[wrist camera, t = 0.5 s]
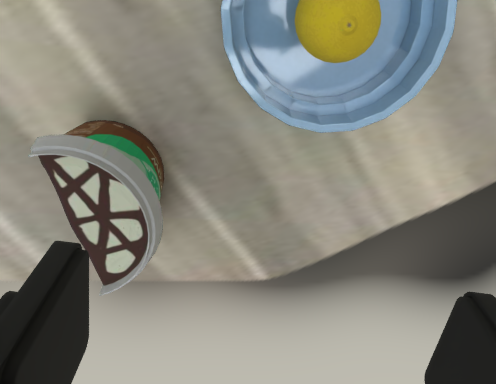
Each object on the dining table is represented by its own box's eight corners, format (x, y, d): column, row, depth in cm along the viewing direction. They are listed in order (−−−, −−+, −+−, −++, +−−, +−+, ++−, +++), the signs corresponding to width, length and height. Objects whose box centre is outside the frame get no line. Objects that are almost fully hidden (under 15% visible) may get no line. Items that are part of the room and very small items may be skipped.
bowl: (215, -97, 31) (209, -109, 26) (439, -116, 30) (473, -131, 26) (233, 119, 38) (232, 139, 33) (418, 106, 37) (442, 124, 33)
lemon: (377, 23, 34) (413, 37, 27) (314, 67, 35) (332, 91, 28) (340, -45, 32) (367, -50, 25) (275, 5, 33) (283, 13, 26)
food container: (196, 216, 41) (182, 283, 32) (133, 231, 42) (102, 301, 33) (149, 85, 36) (116, 123, 27) (77, 105, 37) (23, 148, 28)
